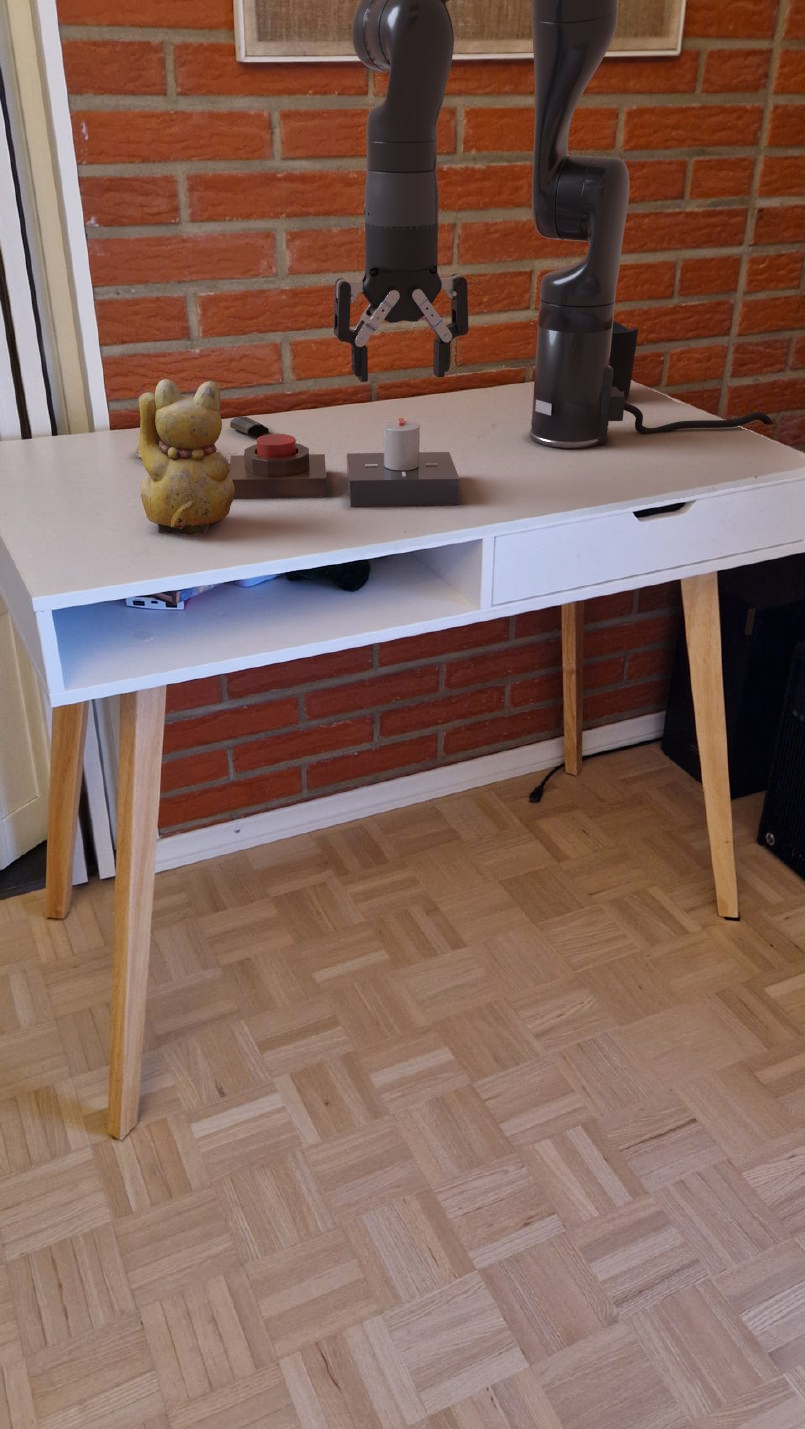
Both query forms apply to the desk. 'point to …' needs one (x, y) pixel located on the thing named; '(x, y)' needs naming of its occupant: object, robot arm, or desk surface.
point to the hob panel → (402, 481)
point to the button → (276, 445)
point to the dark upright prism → (622, 356)
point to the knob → (401, 445)
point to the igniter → (278, 475)
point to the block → (248, 426)
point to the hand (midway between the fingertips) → (401, 378)
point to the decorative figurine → (183, 459)
